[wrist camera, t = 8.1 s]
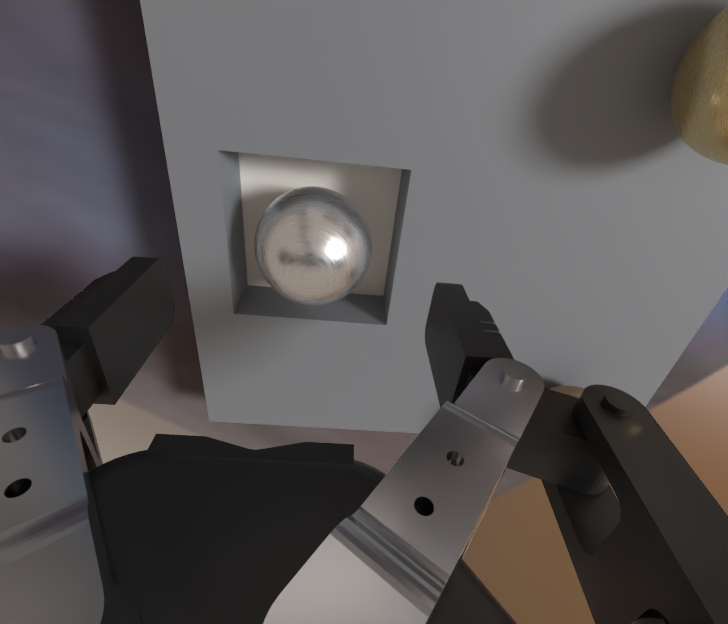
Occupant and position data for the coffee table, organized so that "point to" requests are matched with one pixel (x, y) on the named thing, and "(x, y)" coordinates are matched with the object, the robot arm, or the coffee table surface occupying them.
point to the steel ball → (313, 245)
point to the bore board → (438, 191)
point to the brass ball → (704, 92)
